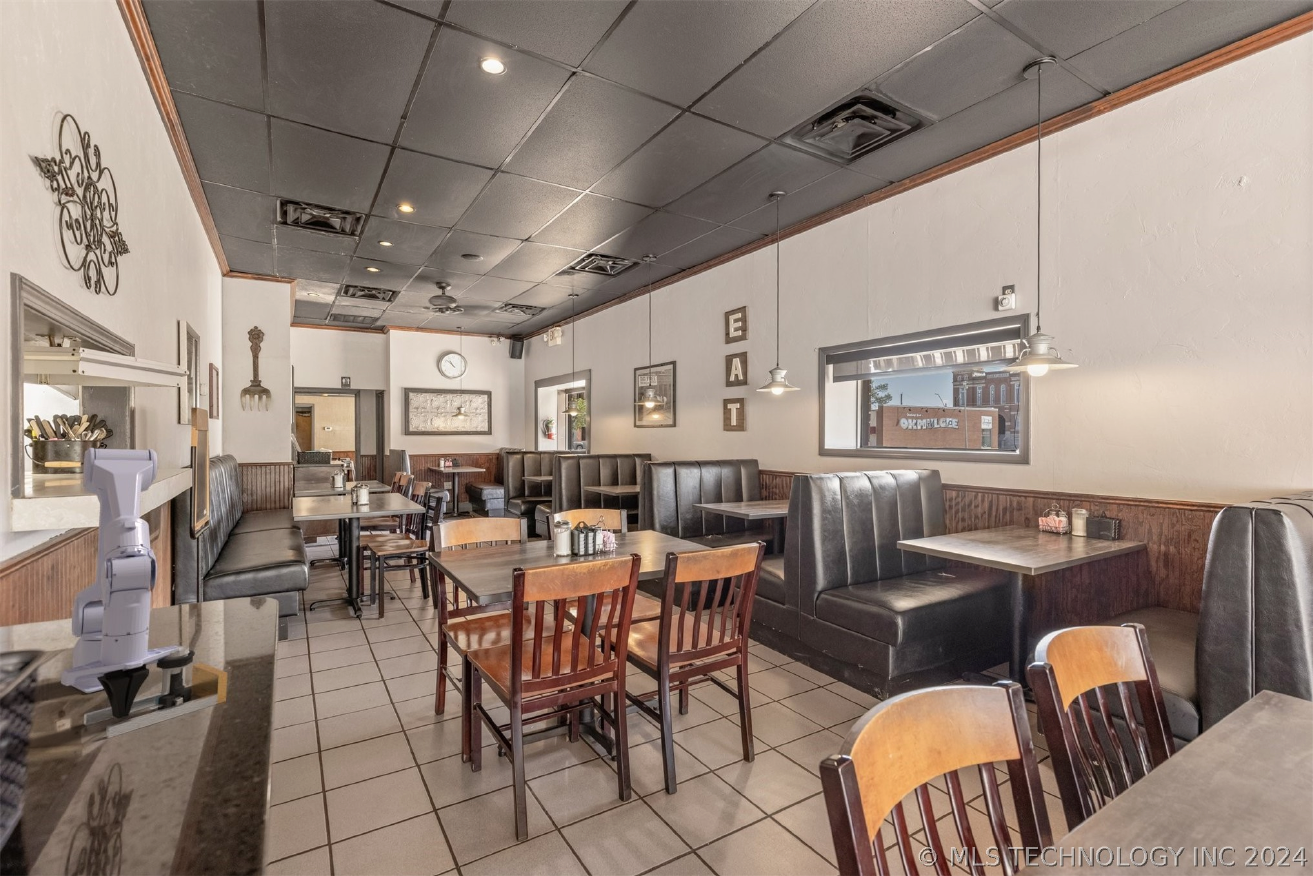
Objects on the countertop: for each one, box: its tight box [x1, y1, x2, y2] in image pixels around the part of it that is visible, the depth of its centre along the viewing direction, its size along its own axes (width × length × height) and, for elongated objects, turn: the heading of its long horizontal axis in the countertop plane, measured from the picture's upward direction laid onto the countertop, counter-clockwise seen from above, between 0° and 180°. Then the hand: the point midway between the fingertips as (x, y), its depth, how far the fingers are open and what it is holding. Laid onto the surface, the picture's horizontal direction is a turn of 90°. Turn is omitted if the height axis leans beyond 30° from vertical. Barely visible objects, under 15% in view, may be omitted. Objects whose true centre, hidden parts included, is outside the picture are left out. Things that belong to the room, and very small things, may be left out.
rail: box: [83, 662, 228, 739], centre depth 102 cm, size 9×16×5 cm, turn 152°
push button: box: [148, 645, 196, 712], centre depth 103 cm, size 7×5×10 cm
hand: (120, 716), depth 97 cm, fingers closed
